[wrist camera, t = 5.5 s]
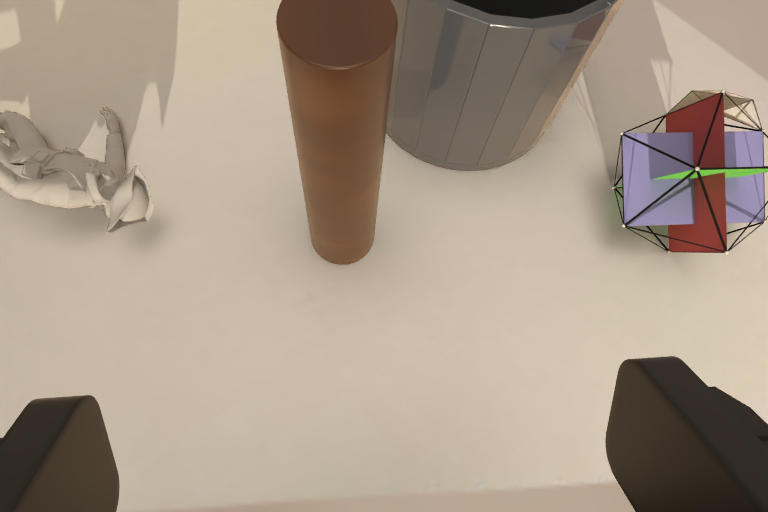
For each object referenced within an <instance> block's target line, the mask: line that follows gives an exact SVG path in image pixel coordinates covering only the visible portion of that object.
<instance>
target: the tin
mask: <svg viewBox="0 0 768 512" xmlns="http://www.w3.org/2000/svg"><path fill="white" fill-rule="evenodd" d="M623 1H624V0H391V2H392V4H393V5H394V8H395V10H396V13H397V18H398V28H397V37H396V46H395V55H394V64H393V73H392V81H391V90H390V99H389V108H388V117H387V126H386V133H387V134H388V135H389V136H390V137H391V138H392V139H393V140H394V141H395V142H396V143H397V144H398V145H400V146H401V147H402V148H403V149H404V150H406V151H408V152H409V153H411V154H412V155H414V156H416V157H418V158H420V159H422V160H424V161H426V162H428V163H431V164H434V165H437V166H441V167H445V168H449V169H457V170H482V169H489V168H493V167H497V166H501V165H503V164H506V163H508V162H511V161H513V160H515V159H516V158H518V157H520V156H522V155H523V154H524V153H526V152H527V151H528V150H530V149H531V148H532V147H533V146H534V145H535V144H536V143H537V142H538V141H539V139H540V138H541V136H542V135H543V134H544V132H545V131H546V130H547V129H548V127H549V126H550V124H551V122H552V121H553V119H554V117H555V116H556V114H557V112H558V111H559V109H560V107H561V106H562V104H563V102H564V100H565V99H566V97H567V95H568V94H569V92H570V90H571V89H572V87H573V85H574V84H575V82H576V80H577V79H578V77H579V75H580V73H581V72H582V70H583V68H584V67H585V65H586V63H587V62H588V60H589V58H590V57H591V55H592V53H593V52H594V50H595V48H596V46H597V45H598V43H599V41H600V40H601V38H602V36H603V35H604V33H605V31H606V30H607V28H608V26H609V25H610V23H611V21H612V19H613V18H614V16H615V14H616V13H617V11H618V9H619V8H620V6H621V4H622V3H623Z"/></svg>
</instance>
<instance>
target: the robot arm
mask: <svg viewBox="0 0 768 512" xmlns="http://www.w3.org/2000/svg"><path fill="white" fill-rule="evenodd" d="M606 452H607V457H608V461H609V464H610V467H611V470H612V472H613V474H614V476H615V478H616V480H617V481H618V483H619V485H620V486H621V488H622V490H623V491H624V493H625V495H626V496H627V498H628V500H629V501H630V503H631V505H632V506H633V508H634V510H635V511H636V512H768V424H767V423H766V422H765V421H764V420H762V419H761V418H760V417H759V416H758V415H757V414H756V413H755V412H754V411H753V410H752V409H751V408H750V407H748V406H746V405H745V404H743V403H741V402H740V401H738V400H736V399H735V398H733V397H731V396H730V395H728V394H726V393H725V392H723V391H721V390H720V389H718V388H716V387H708V386H707V385H706V384H705V383H704V382H703V381H702V380H701V379H700V378H699V377H698V376H697V375H696V374H695V373H694V372H693V371H692V370H691V369H690V368H689V367H688V366H687V365H686V364H685V363H684V362H683V361H682V360H681V359H679V358H677V357H674V356H670V357H656V358H642V359H627V360H625V361H624V362H623V363H622V364H621V366H620V368H619V371H618V375H617V381H616V386H615V391H614V396H613V401H612V406H611V411H610V416H609V422H608V427H607V432H606ZM118 499H119V476H118V471H117V467H116V464H115V460H114V457H113V453H112V449H111V446H110V442H109V439H108V435H107V432H106V428H105V425H104V421H103V418H102V414H101V410H100V407H99V404H98V402H97V400H96V399H95V398H94V397H93V396H90V395H86V396H72V397H57V398H43V399H35V400H33V401H31V402H30V403H29V404H28V405H27V406H26V407H25V408H24V410H23V411H22V413H21V414H20V415H19V417H18V418H17V419H16V421H15V422H14V424H13V425H12V426H11V428H10V429H9V430H8V432H7V433H6V435H5V436H4V437H3V438H0V512H116V510H117V505H118Z"/></svg>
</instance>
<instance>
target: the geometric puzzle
mask: <svg viewBox="0 0 768 512" xmlns="http://www.w3.org/2000/svg"><path fill="white" fill-rule="evenodd" d="M662 117H663V119H664V118H665V117H666V133H654V132H655V130H656V129H657V128H658V126H659V125H660V123H661V122H662V121H663V119H662V120H661V121H660V123H659V124H658V125H657V127H656V128H655V130H654V131H653V132H652V133H626V132H628V131H631V130H633V129H635V128H638V127H640V126H643V125H645V124H647V123H650V122H652V121H655V120H657V119H660V118H662ZM724 117H727V118H729V119H732V120H735V121H737V122H740V123H743V124H745V125H748V126H751V127H753V128H756V129H758V130H756V129H750V128H744V127H738V126H733V125H727V124H724ZM657 119H654V120H652V121H649V122H647V123H645V124H642V125H640V126H638V127H635V128H633V129H631V130H628V131H626V132H620V135H621V139H620V144H621V146H622V176H621V177H620V179H621V178H622V186H616V185H617V183H618V182H619V181H620V179H619V180H618V181H617V183H616V184H615V182H614V186H612V189H614V190H616V191H617V192H618V193H619V195H620V196H621V197H622V198H623V219H622V222H623V224H622V227H626V228H627V227H628V229H629V228H632V229H636V230H639V231H643V232H647V233H651V234H654V236H655V237H656V238H657V239H658V240H659V242H660V243H661V244H662V245H663V246H664V247H665V249H664V248H663V249H664V250H666V251H667V253H671V252H703V253H725V254H726V255H727V254H729V252H728V251H730V250H731V249H732V248H733V247H735V246H736V245H737V244H738V243H740V242H741V241H742V240H743V239H744V238H743V239H742V240H741V241H740V242H738V243H737V244H736V245H735V246H733V245H734V244H735V242H736V241H737V240H738V239H739V237H740V236H741V235H742V234H743V233H744V231H745V230H746V229H747V228H748V227H752V226H755V225H758V224H761V223H762V224H763V223H766V222H767V221H766V220H765V206H766V204H767V203H768V201H767V202H766V204H765V196H764V172H768V166H764V146H763V134H764V135H765V136H766V137H767V138H768V136H767V135H766V134H765V133H764V132H765V130H764V129H762V127H761V123H760V120H759V117H758V114H757V110H756V107H755V104H754V101H753V100H752V99H749V98H745V97H742V96H739V95H735V94H732V93H729V92H726V91H725V90H721V91H691V92H690V93H689V94H688V95H687V96H686V97H684V98H683V99H682V100H681V101H680V102H679V103H678V104H677V105H676V106H675V107H674V108H672V109H671V110H670V111H669V112H668V113H665V114H664V116H661V117H659V118H657ZM724 126H730V127H736V128H742V129H747V130H753V131H742V132H724ZM619 151H620V146H619ZM618 158H619V153H618ZM617 165H618V161H617ZM616 172H617V168H616ZM615 179H616V175H615ZM616 188H623V196H622V195H621V194H620V192H619V191H618V190H617V189H616ZM616 191H615V194H616ZM616 198H617V195H616ZM617 202H618V199H617ZM618 206H619V203H618ZM619 210H620V207H619ZM620 214H621V211H620ZM767 217H768V216H767ZM621 218H622V215H621ZM766 219H767V218H766ZM752 222H760V223H757V224H753V225H750V224H751V223H752ZM726 223H749V225H750V226H749V225H748V226H747V227H744V228H741V229H737V230H734V231H731V232H728V233H726ZM762 224H761V225H762ZM648 225H668V235H669V237H668V236H664V235H660V234H657V233H654V232H653V231H652V230H651V229H650V228H649V226H648ZM629 226H647V227H648V229H649V230H650V231H651V232H649V231H645V230H641V229H637V228H633V227H629ZM759 226H760V225H759ZM759 226H758V227H759ZM758 227H757V228H758ZM757 228H756V229H757ZM742 229H745V230H744V231H743V232H742V233H741V234H740V236H739V237H738V238H737V239H736V241H735V242H734V243H733V244H732V246H733V247H732V246H731V247H732V248H731V247H730V248H729V249H728V250H727V237H726V234H729V233H732V232H736V231H739V230H742ZM756 229H754V230H756ZM629 230H631V229H629ZM754 230H753V231H754ZM631 231H632V230H631ZM753 231H752V232H753ZM633 232H634V231H633ZM752 232H751V233H752ZM635 233H636V232H635ZM751 233H749V234H751ZM636 234H638V233H636ZM749 234H748V235H749ZM638 235H639V234H638ZM656 235H659V236H663V237H667V238H669V249H667V248H666V246H665V245H664V244H663V243H662V242H661V241H660V239H659V238H658V237H657V236H656ZM748 235H747V236H748ZM640 236H641V235H640ZM747 236H746V237H747ZM642 237H643V236H642ZM746 237H745V238H746ZM643 238H645V237H643ZM645 239H646V238H645ZM647 240H648V239H647ZM649 241H650V240H649ZM650 242H652V241H650ZM652 243H653V242H652ZM654 244H655V243H654ZM656 245H657V244H656ZM657 246H659V245H657ZM659 247H660V246H659ZM661 248H662V247H661Z"/></svg>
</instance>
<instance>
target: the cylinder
mask: <svg viewBox="0 0 768 512" xmlns="http://www.w3.org/2000/svg"><path fill="white" fill-rule="evenodd" d="M276 24H277V31H278V37H279V43H280V49H281V56H282V62H283V68H284V74H285V80H286V86H287V93H288V99H289V105H290V111H291V117H292V123H293V130H294V136H295V142H296V148H297V154H298V160H299V167H300V173H301V179H302V185H303V191H304V197H305V204H306V210H307V216H308V222H309V228H310V234H311V241H312V244H313V247H314V249H315V250H316V252H317V253H318V254H319V255H320V256H321V257H322V258H324V259H325V260H327V261H329V262H332V263H335V264H350V263H353V262H356V261H358V260H360V259H361V258H363V257H364V256H365V255H366V254H367V253H368V252H369V250H370V248H371V246H372V244H373V240H374V232H375V223H376V214H377V205H378V196H379V188H380V179H381V170H382V161H383V152H384V143H385V135H386V126H387V117H388V108H389V99H390V90H391V81H392V73H393V64H394V55H395V46H396V37H397V28H398V18H397V13H396V10H395V8H394V5H393V4H392V2H391V0H282V2H281V3H280V6H279V9H278V12H277V19H276Z"/></svg>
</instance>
